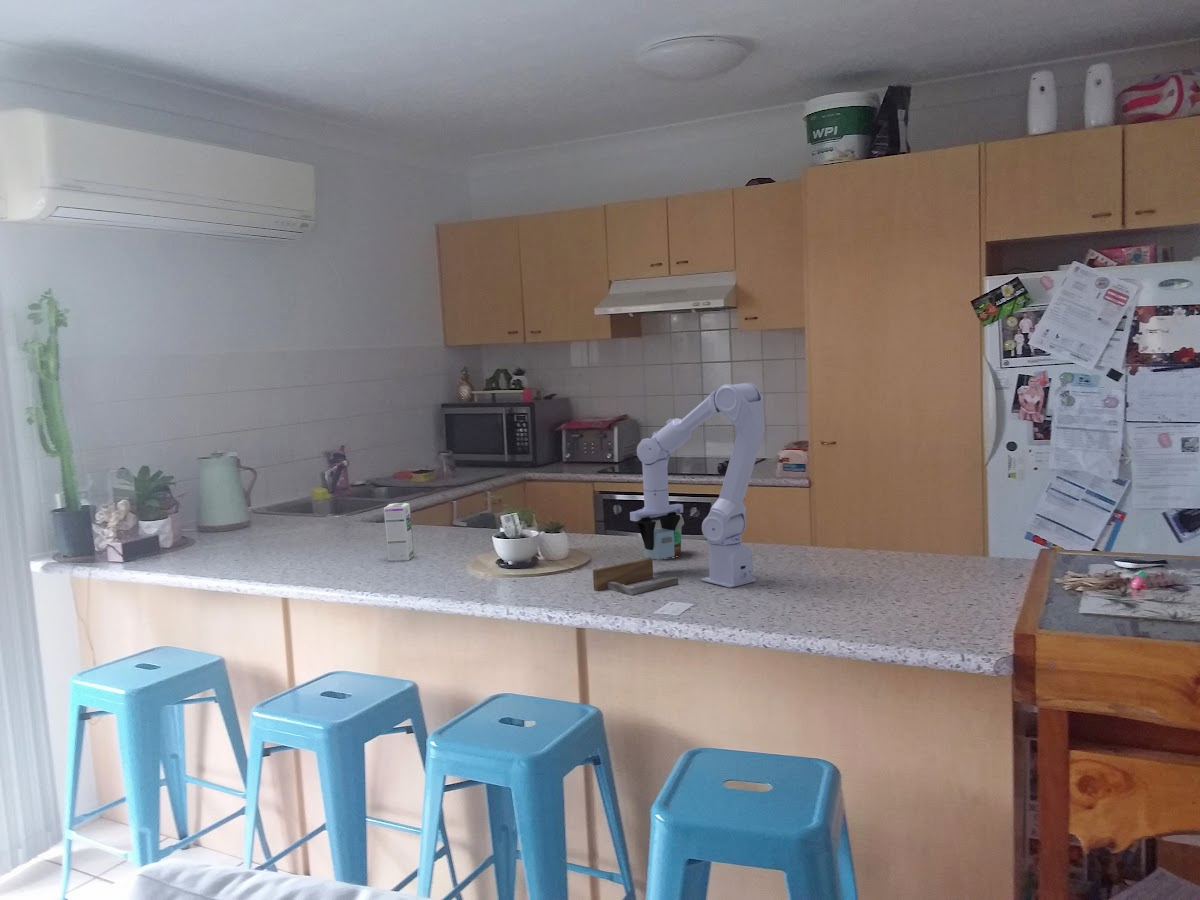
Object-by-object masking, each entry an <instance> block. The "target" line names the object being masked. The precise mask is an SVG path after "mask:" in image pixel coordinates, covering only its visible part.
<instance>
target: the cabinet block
mask: <svg viewBox="0 0 1200 900" xmlns="http://www.w3.org/2000/svg"><path fill="white" fill-rule="evenodd" d="M643 552H644V553H643V555H644V556H643V557H645V558H653V560H655V559H657V560H658V561H659V559H664V558H668V557H673V556H675V552H674V531H673V530H668V529H662V528H657V529H654V547H653V550H648V549H645V545H644V544H643ZM657 560H656V561H657ZM664 560H665V559H664Z"/></svg>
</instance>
